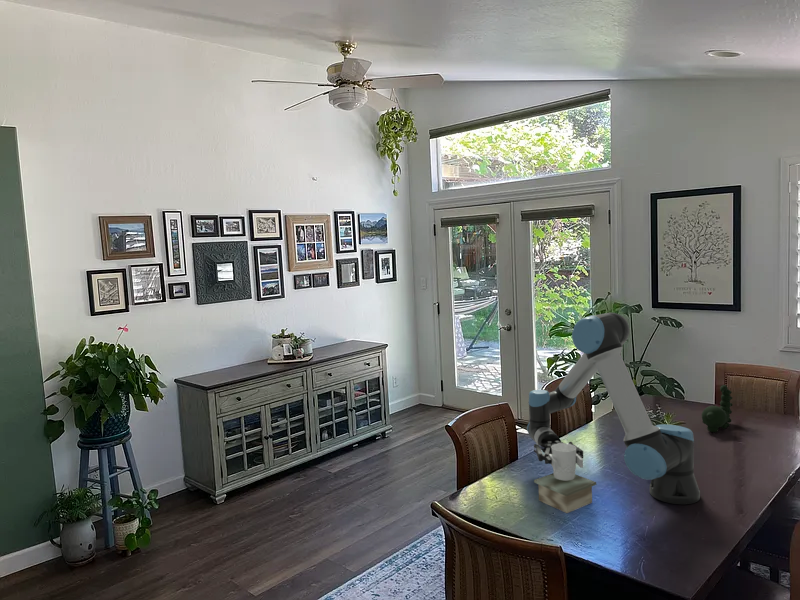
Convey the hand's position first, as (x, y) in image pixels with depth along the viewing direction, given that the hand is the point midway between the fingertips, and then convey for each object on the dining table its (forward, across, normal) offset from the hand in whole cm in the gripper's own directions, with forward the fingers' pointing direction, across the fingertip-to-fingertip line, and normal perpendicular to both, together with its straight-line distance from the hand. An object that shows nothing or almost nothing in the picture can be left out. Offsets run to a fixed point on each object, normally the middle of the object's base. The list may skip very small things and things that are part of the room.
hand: (568, 464), depth 188 cm
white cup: (-5, 0, -6) cm, 8 cm away
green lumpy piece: (-65, -88, -15) cm, 110 cm away
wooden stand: (-5, 0, -14) cm, 15 cm away
